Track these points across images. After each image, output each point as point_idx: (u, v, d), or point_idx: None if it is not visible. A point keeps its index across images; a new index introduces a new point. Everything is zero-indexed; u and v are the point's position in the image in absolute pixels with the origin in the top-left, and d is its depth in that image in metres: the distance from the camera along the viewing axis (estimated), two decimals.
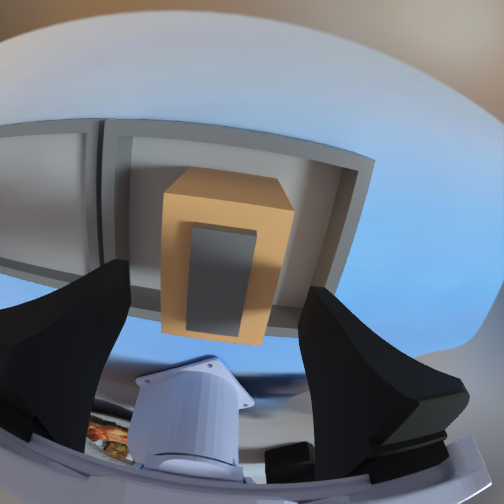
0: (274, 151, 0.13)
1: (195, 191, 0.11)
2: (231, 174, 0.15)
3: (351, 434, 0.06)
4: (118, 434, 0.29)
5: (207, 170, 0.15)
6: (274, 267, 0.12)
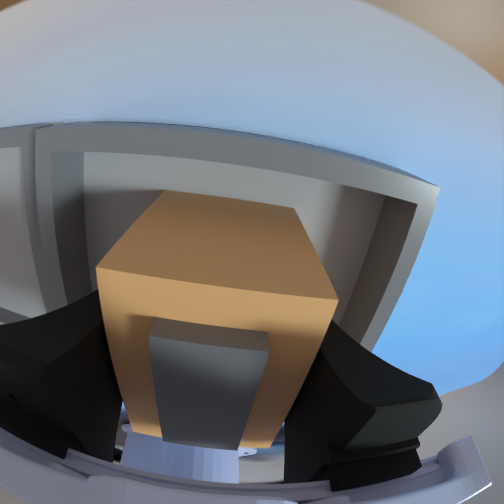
0: (294, 172, 0.08)
1: (154, 258, 0.06)
2: (225, 204, 0.10)
3: (313, 437, 0.06)
4: None
5: (188, 197, 0.10)
6: (294, 377, 0.07)
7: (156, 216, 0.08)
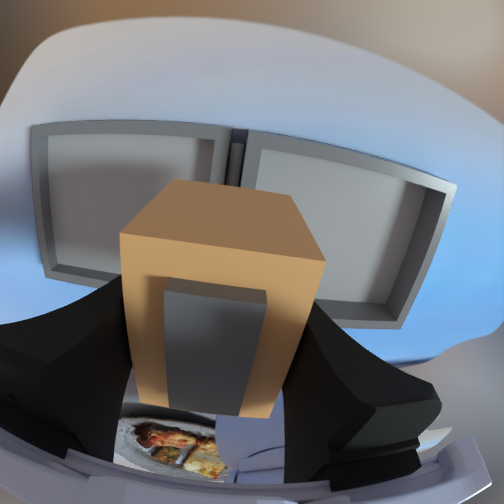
0: (394, 176, 0.15)
1: (169, 227, 0.07)
2: (228, 191, 0.11)
3: (313, 437, 0.06)
4: (177, 439, 0.31)
5: (195, 185, 0.11)
6: (290, 337, 0.08)
7: (168, 198, 0.09)
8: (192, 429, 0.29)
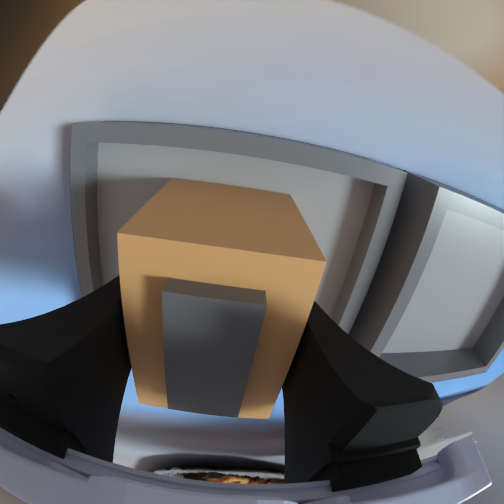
0: None
1: (168, 227, 0.07)
2: (227, 190, 0.11)
3: (313, 437, 0.06)
4: (230, 481, 0.27)
5: (194, 184, 0.11)
6: (290, 338, 0.08)
7: (167, 197, 0.09)
8: (252, 475, 0.25)
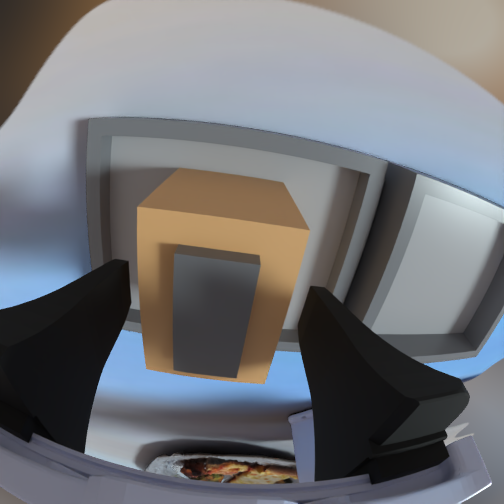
0: None
1: (179, 203, 0.08)
2: (227, 177, 0.13)
3: (351, 434, 0.06)
4: (229, 468, 0.28)
5: (198, 172, 0.13)
6: (282, 299, 0.09)
7: (176, 182, 0.11)
8: (251, 460, 0.26)
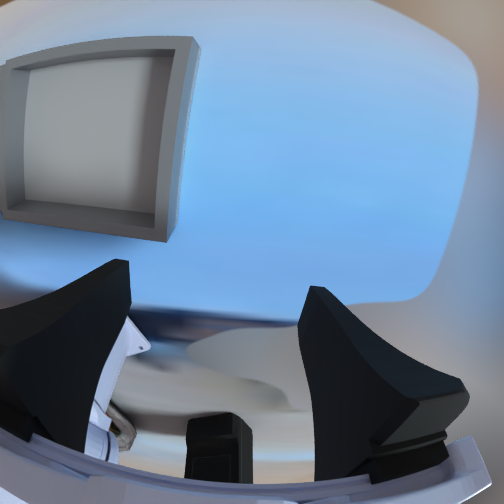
0: (102, 50, 0.11)
1: None
2: None
3: (351, 434, 0.06)
4: None
5: None
6: None
7: None
8: None
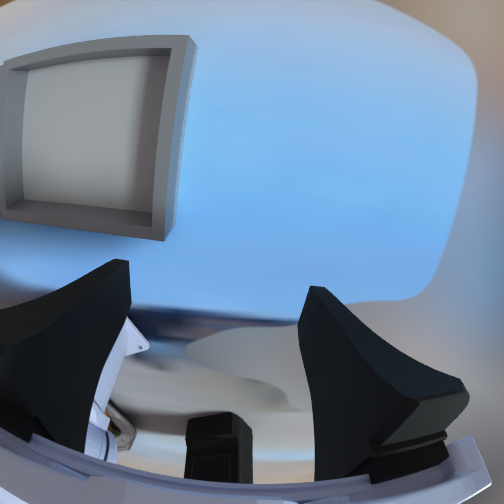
0: (99, 50, 0.11)
1: None
2: None
3: (351, 434, 0.06)
4: None
5: None
6: None
7: None
8: None
